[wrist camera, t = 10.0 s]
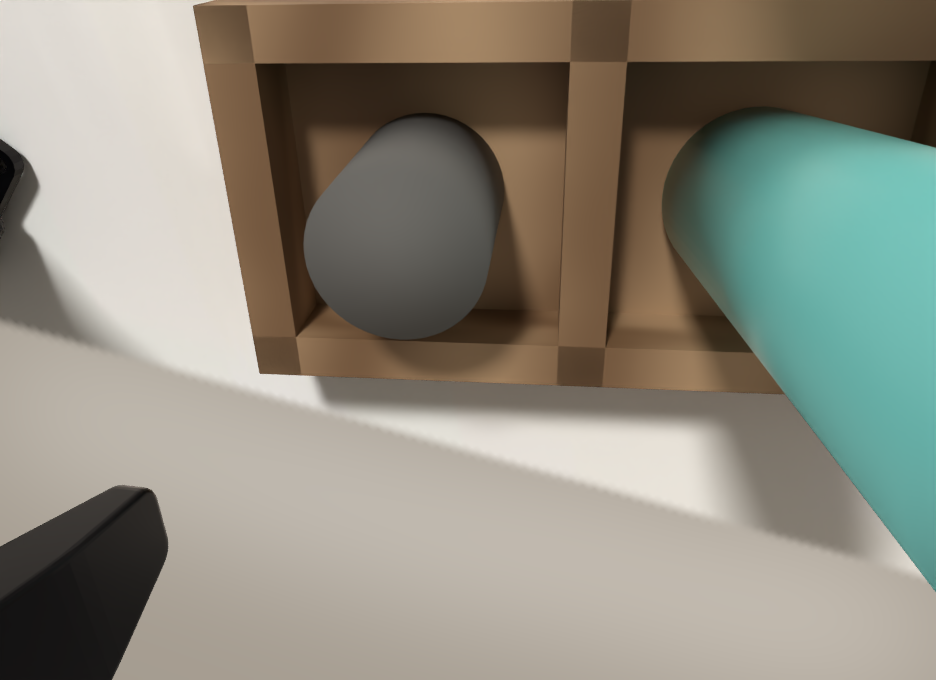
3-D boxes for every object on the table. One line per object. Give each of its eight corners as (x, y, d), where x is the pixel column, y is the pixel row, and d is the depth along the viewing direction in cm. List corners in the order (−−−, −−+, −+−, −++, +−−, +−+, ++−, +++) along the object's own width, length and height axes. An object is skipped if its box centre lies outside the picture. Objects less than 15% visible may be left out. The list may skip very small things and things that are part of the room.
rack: (292, 323, 24) (259, 373, 21) (242, -8, 19) (192, 5, 17) (885, 342, 22) (929, 399, 19) (987, -18, 17) (1061, -6, 15)
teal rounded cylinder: (625, 209, 19) (840, 542, 6) (755, 66, 18) (1361, 131, 5) (746, 315, 20) (1152, 796, 7) (880, 186, 19) (1673, 504, 6)
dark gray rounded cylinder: (324, 187, 20) (267, 253, 16) (424, 78, 19) (386, 124, 15) (432, 286, 21) (402, 370, 18) (536, 192, 20) (528, 262, 16)
